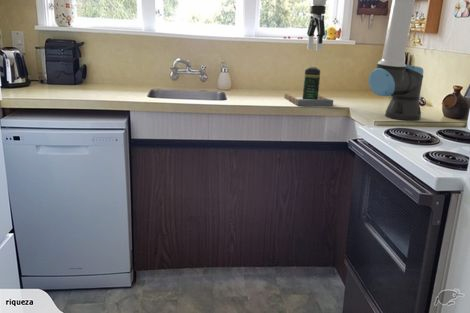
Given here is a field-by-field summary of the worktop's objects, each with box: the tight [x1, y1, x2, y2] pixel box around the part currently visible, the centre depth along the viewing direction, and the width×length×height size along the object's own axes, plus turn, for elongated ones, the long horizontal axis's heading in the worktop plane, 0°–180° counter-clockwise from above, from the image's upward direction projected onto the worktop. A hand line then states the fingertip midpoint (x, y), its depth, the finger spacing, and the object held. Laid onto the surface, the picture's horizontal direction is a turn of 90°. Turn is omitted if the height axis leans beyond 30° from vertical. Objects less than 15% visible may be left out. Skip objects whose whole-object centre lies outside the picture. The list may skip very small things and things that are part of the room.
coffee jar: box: [302, 66, 321, 99], centre depth 220 cm, size 10×8×19 cm
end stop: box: [295, 98, 334, 107], centre depth 216 cm, size 3×18×3 cm, turn 99°
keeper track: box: [283, 92, 328, 106], centre depth 228 cm, size 24×18×2 cm
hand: (314, 49), depth 215 cm, fingers open, 13 cm apart
